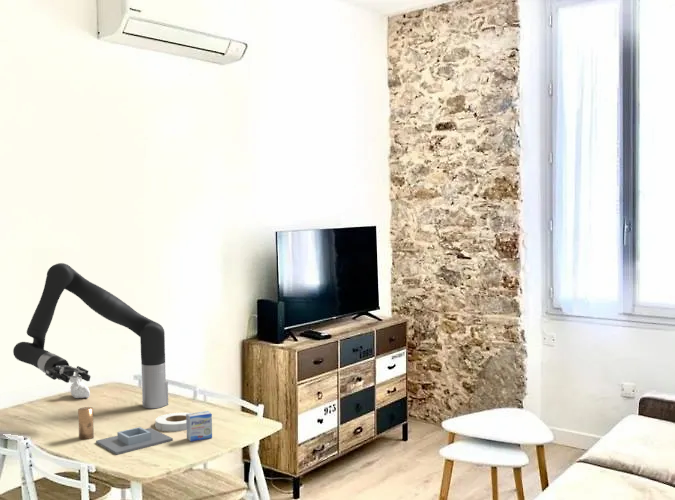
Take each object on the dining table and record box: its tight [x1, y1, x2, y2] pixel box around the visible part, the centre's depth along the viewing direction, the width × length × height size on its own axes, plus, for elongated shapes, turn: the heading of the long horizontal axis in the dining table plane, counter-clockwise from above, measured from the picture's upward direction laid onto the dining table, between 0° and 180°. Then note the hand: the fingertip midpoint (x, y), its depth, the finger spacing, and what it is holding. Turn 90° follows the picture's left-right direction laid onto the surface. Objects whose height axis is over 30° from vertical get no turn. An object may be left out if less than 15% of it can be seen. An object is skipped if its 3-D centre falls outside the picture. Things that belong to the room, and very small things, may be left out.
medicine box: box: [186, 410, 213, 442], centre depth 240 cm, size 8×4×9 cm, turn 117°
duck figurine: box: [69, 373, 91, 399], centre depth 294 cm, size 12×8×11 cm
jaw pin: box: [77, 406, 95, 441], centre depth 242 cm, size 5×5×10 cm
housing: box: [95, 426, 174, 456], centre depth 237 cm, size 20×16×3 cm
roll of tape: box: [154, 412, 191, 432], centre depth 255 cm, size 16×15×3 cm
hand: (79, 379), depth 250 cm, fingers open, 8 cm apart
